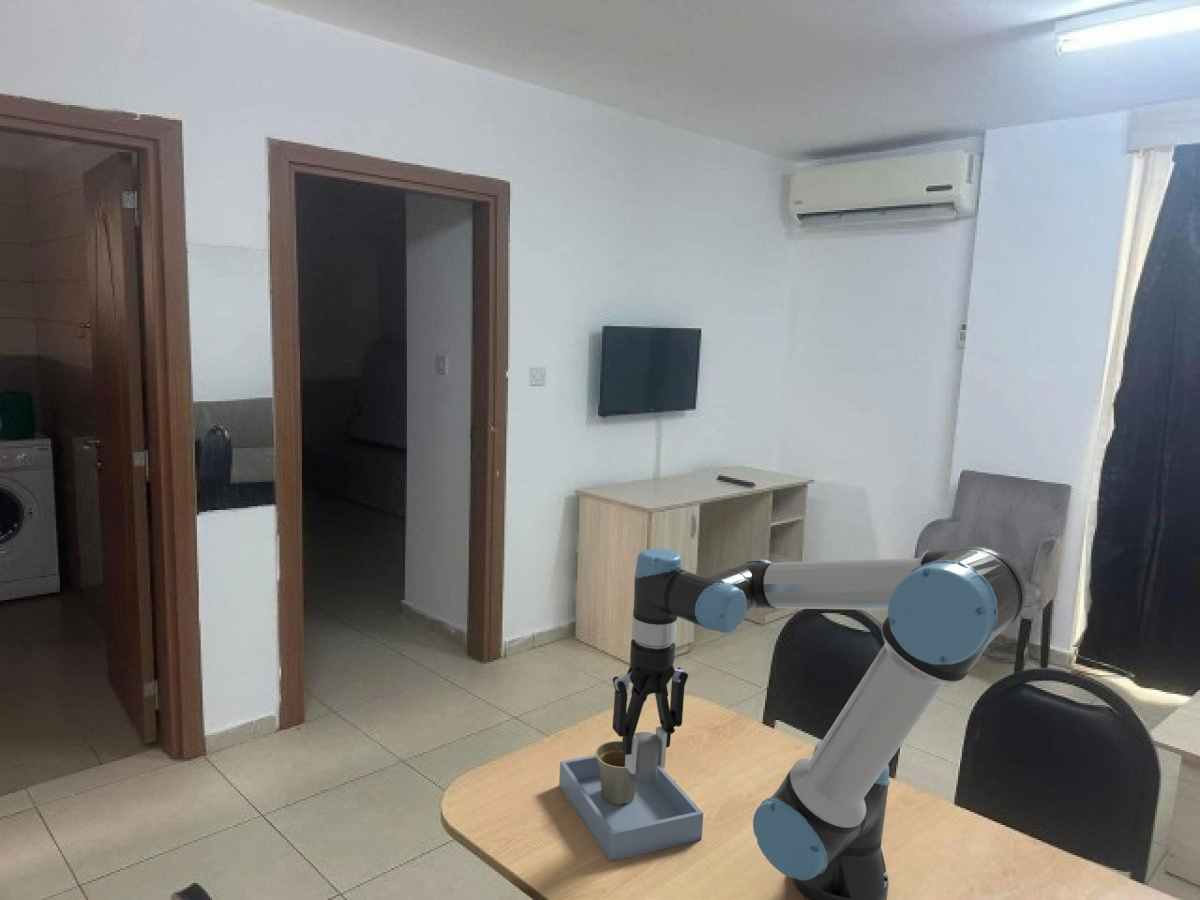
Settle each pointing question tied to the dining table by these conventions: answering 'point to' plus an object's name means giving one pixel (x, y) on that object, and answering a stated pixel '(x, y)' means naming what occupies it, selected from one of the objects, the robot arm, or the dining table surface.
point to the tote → (631, 812)
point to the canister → (646, 758)
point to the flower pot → (614, 774)
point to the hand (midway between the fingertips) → (644, 766)
